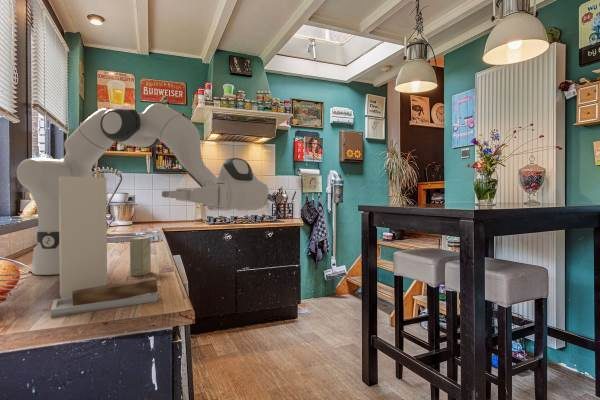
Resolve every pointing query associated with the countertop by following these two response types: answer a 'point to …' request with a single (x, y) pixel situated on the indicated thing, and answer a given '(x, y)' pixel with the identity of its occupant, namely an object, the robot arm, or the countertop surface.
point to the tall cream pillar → (82, 233)
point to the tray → (98, 304)
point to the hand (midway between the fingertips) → (165, 194)
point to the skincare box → (140, 256)
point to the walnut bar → (114, 291)
